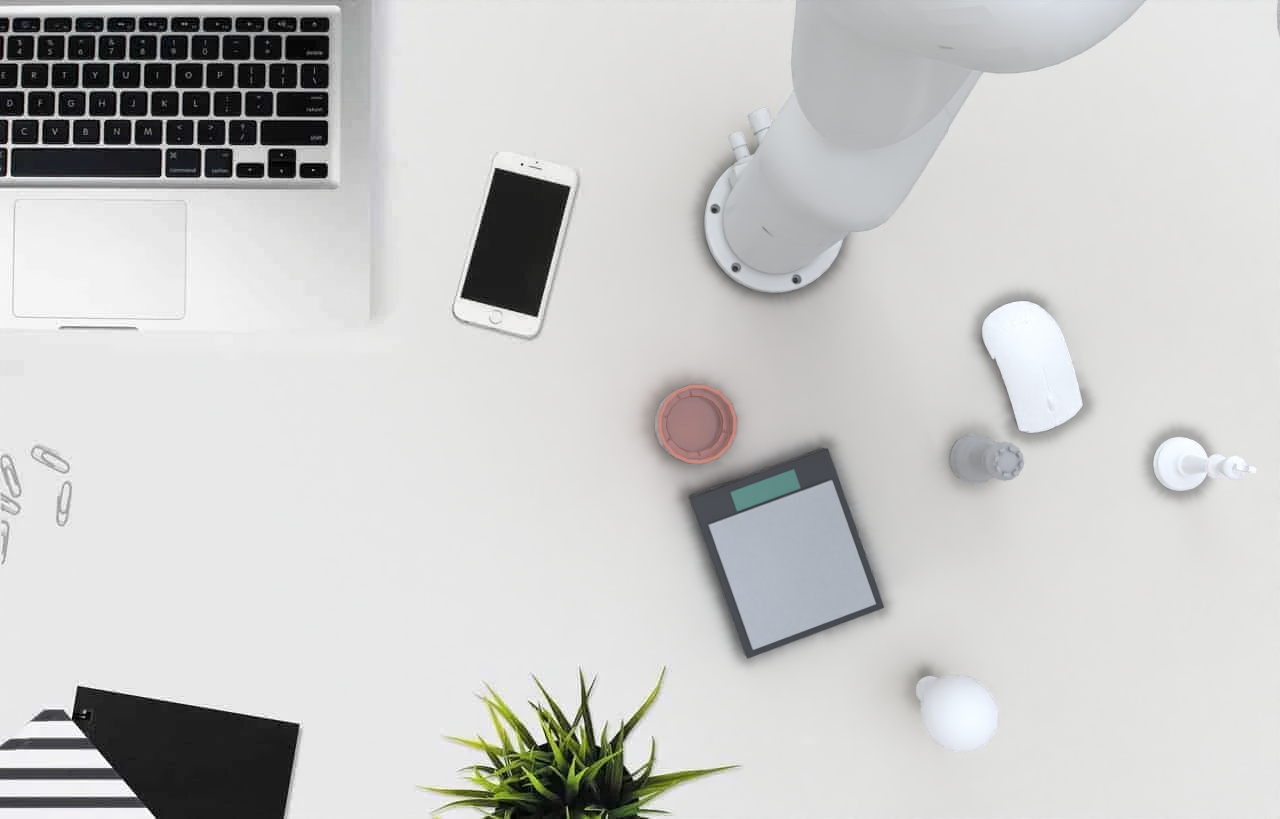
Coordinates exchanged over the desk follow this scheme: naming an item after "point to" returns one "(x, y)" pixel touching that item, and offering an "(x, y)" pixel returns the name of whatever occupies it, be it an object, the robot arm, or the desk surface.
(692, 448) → the bowl
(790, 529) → the scale
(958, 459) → the rook chess piece
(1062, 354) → the computer mouse
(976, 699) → the lightbulb
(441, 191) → the desk surface
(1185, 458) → the chess piece
